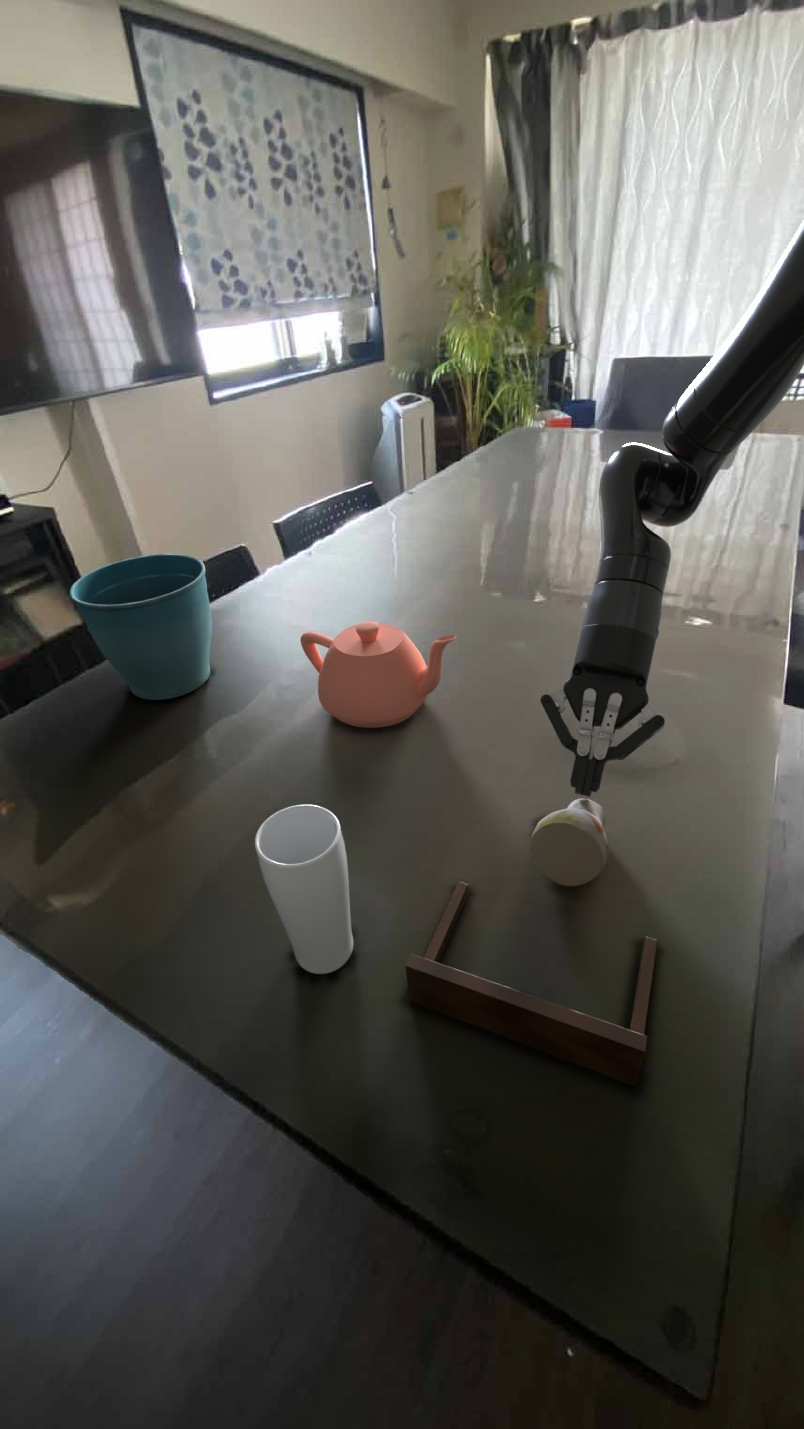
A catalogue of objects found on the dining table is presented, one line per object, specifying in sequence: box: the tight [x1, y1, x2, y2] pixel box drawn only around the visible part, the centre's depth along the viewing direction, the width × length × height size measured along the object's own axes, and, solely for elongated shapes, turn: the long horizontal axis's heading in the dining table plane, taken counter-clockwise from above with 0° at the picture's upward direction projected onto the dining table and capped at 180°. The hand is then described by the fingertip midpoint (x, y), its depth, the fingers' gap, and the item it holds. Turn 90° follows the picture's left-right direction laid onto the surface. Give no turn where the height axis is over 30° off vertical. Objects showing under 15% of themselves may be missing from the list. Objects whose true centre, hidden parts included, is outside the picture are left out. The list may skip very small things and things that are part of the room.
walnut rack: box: [404, 881, 658, 1087], centre depth 53 cm, size 18×12×5 cm
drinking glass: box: [254, 804, 355, 975], centre depth 53 cm, size 7×7×15 cm
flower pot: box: [69, 553, 213, 701], centre depth 94 cm, size 18×18×17 cm
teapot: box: [299, 620, 457, 729], centre depth 85 cm, size 22×15×12 cm
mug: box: [529, 798, 609, 887], centre depth 63 cm, size 8×10×10 cm
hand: (582, 794), depth 65 cm, fingers closed
